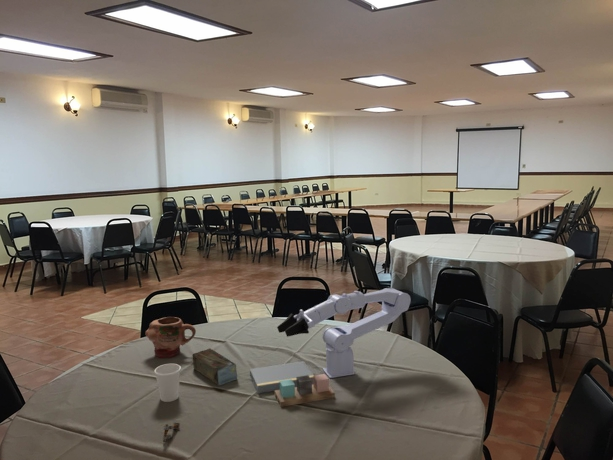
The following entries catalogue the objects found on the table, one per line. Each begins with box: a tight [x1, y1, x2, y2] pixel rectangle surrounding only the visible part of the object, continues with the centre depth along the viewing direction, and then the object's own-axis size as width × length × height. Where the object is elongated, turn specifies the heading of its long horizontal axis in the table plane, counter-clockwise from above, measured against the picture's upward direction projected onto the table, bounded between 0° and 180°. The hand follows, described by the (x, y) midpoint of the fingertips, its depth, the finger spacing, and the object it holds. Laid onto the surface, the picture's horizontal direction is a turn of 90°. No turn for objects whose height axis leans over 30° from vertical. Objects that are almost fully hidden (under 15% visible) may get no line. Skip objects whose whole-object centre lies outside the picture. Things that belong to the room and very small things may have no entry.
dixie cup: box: [153, 363, 182, 403], centre depth 160 cm, size 8×8×10 cm
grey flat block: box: [249, 360, 315, 394], centre depth 171 cm, size 20×14×3 cm
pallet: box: [274, 375, 336, 407], centre depth 159 cm, size 18×8×6 cm, turn 107°
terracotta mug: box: [144, 316, 197, 359], centre depth 196 cm, size 20×12×14 cm, turn 95°
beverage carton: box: [192, 347, 238, 386], centre depth 177 cm, size 8×19×7 cm, turn 40°
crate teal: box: [280, 379, 295, 398], centre depth 157 cm, size 4×4×4 cm
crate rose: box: [313, 373, 330, 393], centre depth 160 cm, size 4×4×4 cm
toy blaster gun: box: [162, 421, 181, 443], centre depth 138 cm, size 2×8×4 cm, turn 169°
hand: (282, 331), depth 164 cm, fingers open, 7 cm apart
